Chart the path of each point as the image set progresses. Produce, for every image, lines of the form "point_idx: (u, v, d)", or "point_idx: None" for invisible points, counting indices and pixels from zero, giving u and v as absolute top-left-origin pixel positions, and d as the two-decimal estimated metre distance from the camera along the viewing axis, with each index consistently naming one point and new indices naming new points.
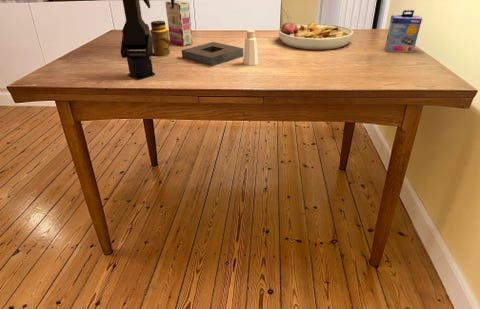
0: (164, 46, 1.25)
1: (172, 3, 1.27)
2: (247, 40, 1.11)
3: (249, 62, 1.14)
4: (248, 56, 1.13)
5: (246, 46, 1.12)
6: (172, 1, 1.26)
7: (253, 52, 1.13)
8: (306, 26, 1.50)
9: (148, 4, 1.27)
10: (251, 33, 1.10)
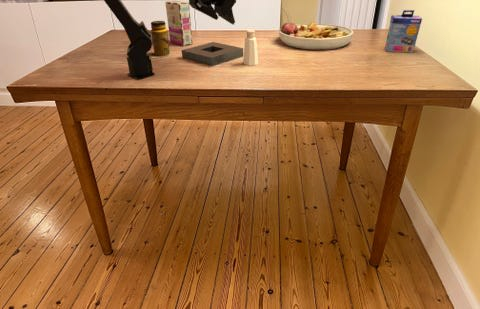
0: (164, 46, 1.25)
1: (229, 22, 1.06)
2: (247, 40, 1.11)
3: (249, 62, 1.14)
4: (248, 56, 1.13)
5: (246, 46, 1.12)
6: None
7: (253, 52, 1.13)
8: (306, 26, 1.50)
9: (213, 17, 1.13)
10: (251, 33, 1.10)
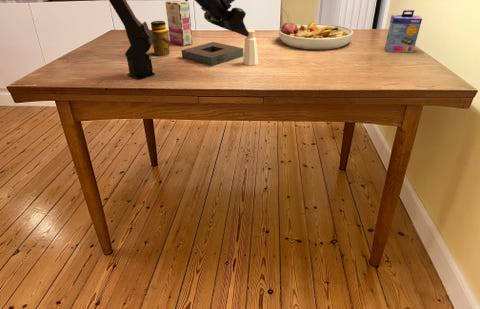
0: (164, 46, 1.25)
1: (241, 34, 1.05)
2: (247, 40, 1.11)
3: (249, 62, 1.14)
4: (248, 56, 1.13)
5: (246, 46, 1.12)
6: (240, 33, 1.04)
7: (253, 52, 1.13)
8: (306, 26, 1.50)
9: (229, 29, 1.12)
10: (251, 33, 1.10)
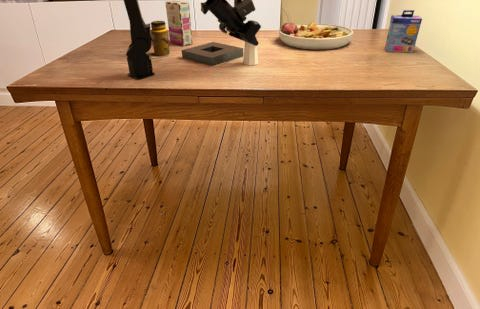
0: (164, 46, 1.25)
1: None
2: None
3: (249, 62, 1.14)
4: (248, 56, 1.13)
5: (246, 46, 1.12)
6: (250, 43, 1.10)
7: (253, 52, 1.13)
8: (306, 26, 1.50)
9: None
10: None
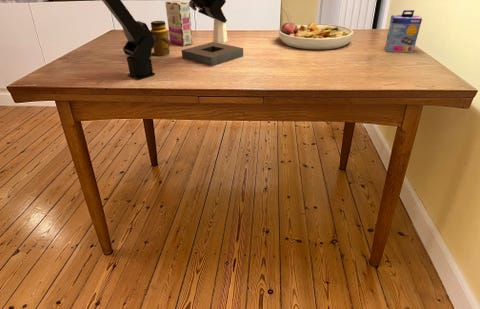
0: (164, 46, 1.25)
1: (220, 20, 1.13)
2: None
3: (217, 39, 1.16)
4: (217, 33, 1.15)
5: (215, 23, 1.14)
6: (218, 19, 1.12)
7: (221, 29, 1.15)
8: (306, 26, 1.50)
9: None
10: None
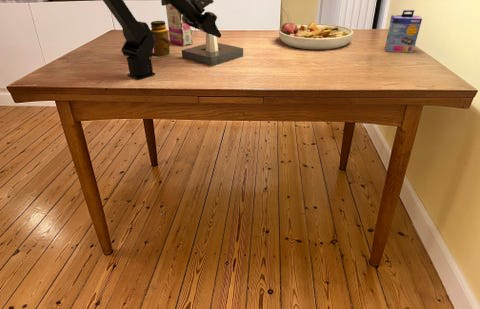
0: (164, 46, 1.25)
1: None
2: (207, 35, 1.19)
3: None
4: (209, 50, 1.21)
5: (207, 41, 1.20)
6: (213, 35, 1.15)
7: (213, 47, 1.20)
8: (306, 26, 1.50)
9: None
10: None
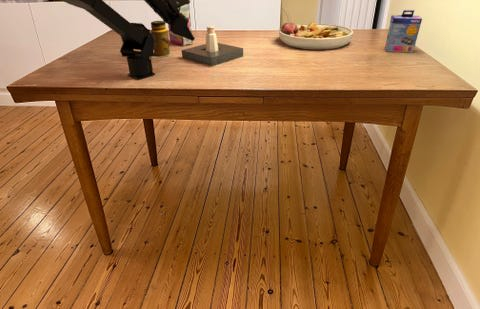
0: (164, 46, 1.25)
1: (187, 38, 1.11)
2: (207, 35, 1.19)
3: None
4: (209, 50, 1.21)
5: (207, 41, 1.20)
6: (185, 37, 1.10)
7: (213, 47, 1.20)
8: (306, 26, 1.50)
9: None
10: (211, 29, 1.18)
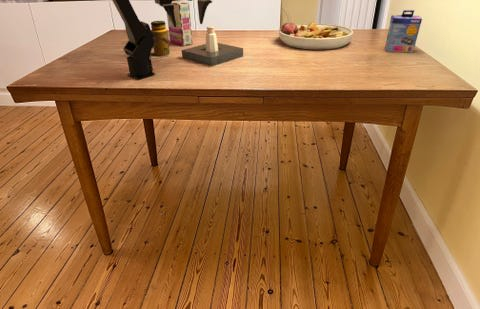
0: (164, 46, 1.25)
1: None
2: (207, 35, 1.19)
3: None
4: (209, 50, 1.21)
5: (207, 41, 1.20)
6: None
7: (213, 47, 1.20)
8: (306, 26, 1.50)
9: (199, 18, 1.12)
10: (211, 29, 1.18)
